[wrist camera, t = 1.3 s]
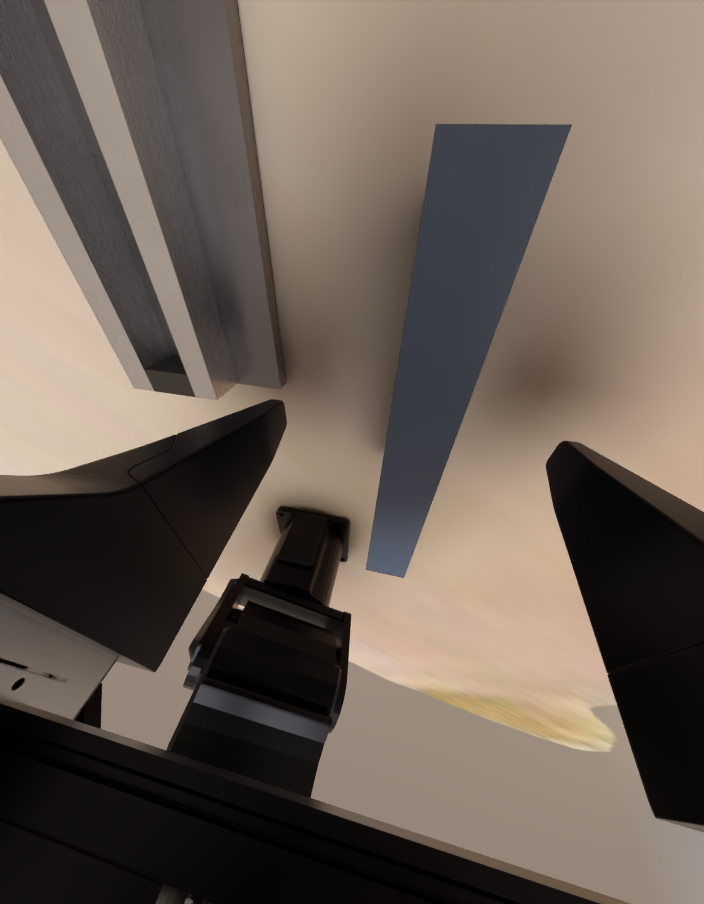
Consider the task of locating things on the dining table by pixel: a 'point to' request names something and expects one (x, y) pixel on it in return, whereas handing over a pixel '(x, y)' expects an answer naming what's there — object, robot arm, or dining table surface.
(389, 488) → the door panel
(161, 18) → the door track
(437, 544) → the dining table surface
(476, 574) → the dining table surface
